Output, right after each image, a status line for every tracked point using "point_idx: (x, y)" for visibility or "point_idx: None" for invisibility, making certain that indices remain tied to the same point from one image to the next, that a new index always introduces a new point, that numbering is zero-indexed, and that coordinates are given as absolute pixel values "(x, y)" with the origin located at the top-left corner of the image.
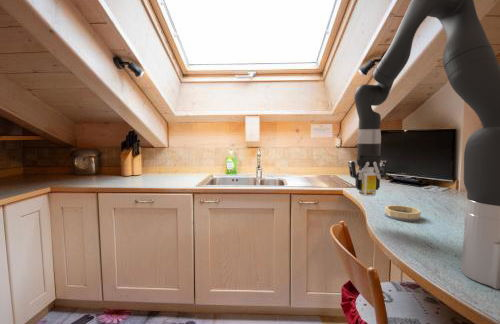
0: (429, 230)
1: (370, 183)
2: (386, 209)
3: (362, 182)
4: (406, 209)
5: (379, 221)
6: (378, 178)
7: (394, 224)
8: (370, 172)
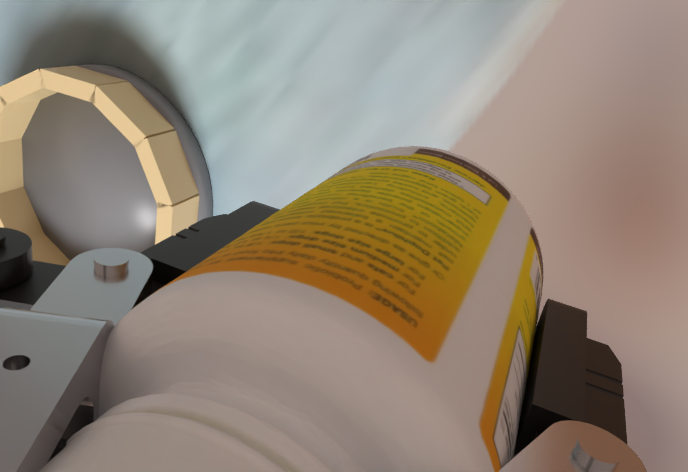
0: None
1: (415, 218)
2: None
3: (522, 359)
4: (25, 228)
5: (343, 158)
6: (137, 266)
7: (283, 54)
8: (259, 405)
